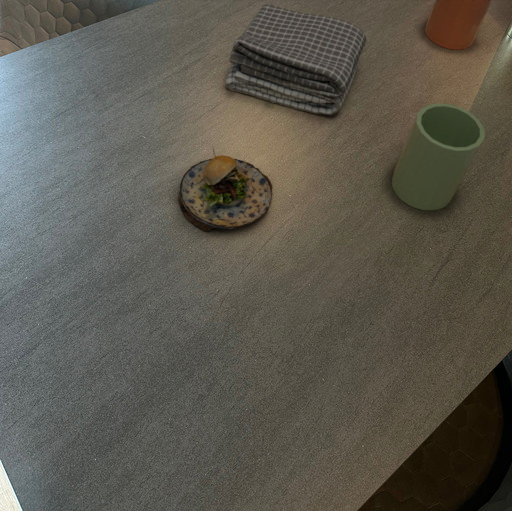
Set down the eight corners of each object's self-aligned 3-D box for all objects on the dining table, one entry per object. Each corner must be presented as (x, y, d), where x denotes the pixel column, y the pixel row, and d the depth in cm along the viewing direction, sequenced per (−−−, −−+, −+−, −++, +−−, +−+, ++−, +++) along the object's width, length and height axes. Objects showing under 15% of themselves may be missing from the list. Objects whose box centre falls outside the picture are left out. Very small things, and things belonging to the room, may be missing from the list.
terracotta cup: (462, 20, 111) (487, -40, 102) (480, 49, 106) (508, -11, 97) (418, 20, 109) (440, -41, 101) (434, 50, 105) (458, -11, 96)
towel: (338, 124, 91) (350, 79, 85) (219, 88, 93) (223, 42, 86) (360, 65, 100) (372, 21, 94) (251, 33, 102) (256, -12, 95)
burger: (205, 249, 75) (208, 208, 69) (162, 182, 80) (161, 139, 74) (289, 216, 79) (299, 175, 74) (243, 155, 85) (248, 112, 79)
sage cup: (439, 163, 88) (469, 102, 80) (461, 208, 84) (495, 148, 75) (383, 166, 87) (407, 104, 78) (402, 212, 82) (430, 152, 73)
